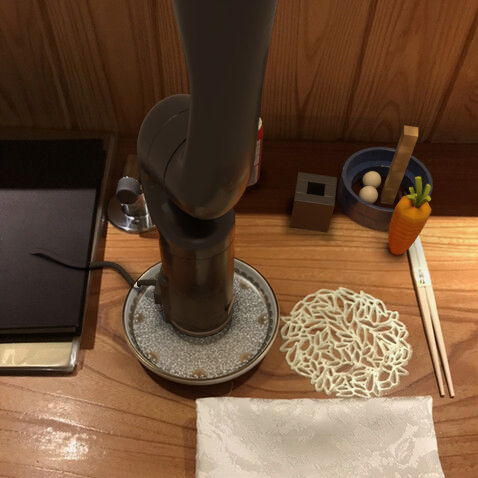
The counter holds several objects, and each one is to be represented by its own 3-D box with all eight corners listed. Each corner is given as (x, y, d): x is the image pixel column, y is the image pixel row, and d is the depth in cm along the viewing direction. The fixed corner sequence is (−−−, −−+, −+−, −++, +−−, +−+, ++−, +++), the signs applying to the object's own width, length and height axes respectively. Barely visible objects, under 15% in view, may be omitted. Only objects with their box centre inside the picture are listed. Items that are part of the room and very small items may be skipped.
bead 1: (382, 176, 94) (364, 178, 95) (379, 166, 91) (360, 169, 92) (382, 192, 93) (364, 194, 94) (379, 182, 90) (360, 185, 91)
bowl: (333, 228, 90) (339, 204, 85) (339, 167, 97) (345, 141, 93) (422, 241, 89) (433, 217, 84) (421, 178, 97) (431, 153, 92)
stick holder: (289, 231, 89) (294, 200, 83) (293, 204, 92) (298, 172, 87) (326, 236, 89) (334, 205, 83) (329, 209, 92) (337, 177, 86)
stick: (380, 203, 92) (404, 134, 80) (380, 194, 93) (404, 125, 81) (392, 205, 92) (418, 136, 80) (392, 196, 93) (418, 127, 81)
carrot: (409, 270, 86) (442, 200, 73) (377, 264, 86) (404, 194, 74) (411, 245, 89) (443, 174, 76) (379, 240, 89) (406, 168, 76)
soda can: (242, 163, 97) (245, 104, 87) (265, 179, 95) (271, 121, 85) (220, 179, 95) (220, 120, 85) (243, 196, 93) (246, 138, 83)
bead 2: (376, 209, 91) (371, 200, 93) (382, 192, 89) (376, 183, 91) (359, 207, 90) (354, 198, 93) (365, 190, 88) (359, 181, 91)
